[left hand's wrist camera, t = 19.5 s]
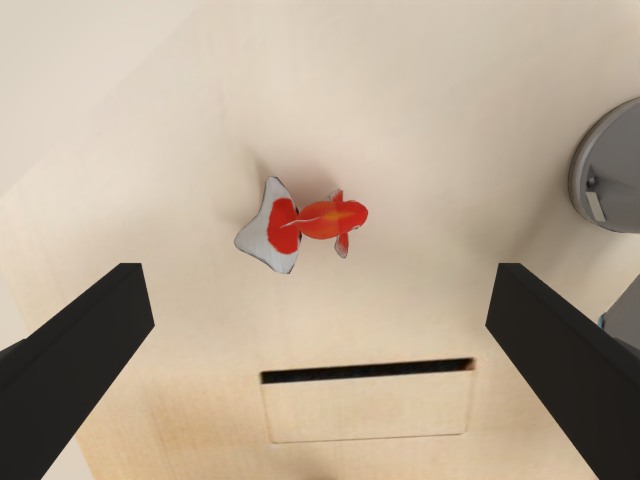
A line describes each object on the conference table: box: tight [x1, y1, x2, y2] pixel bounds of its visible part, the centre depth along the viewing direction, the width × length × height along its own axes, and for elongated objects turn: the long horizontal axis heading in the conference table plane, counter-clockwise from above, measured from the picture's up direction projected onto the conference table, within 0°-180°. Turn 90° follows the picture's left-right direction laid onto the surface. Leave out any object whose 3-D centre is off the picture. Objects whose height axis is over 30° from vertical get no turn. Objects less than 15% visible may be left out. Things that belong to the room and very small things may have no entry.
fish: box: [234, 177, 368, 274], centre depth 38 cm, size 11×16×10 cm
